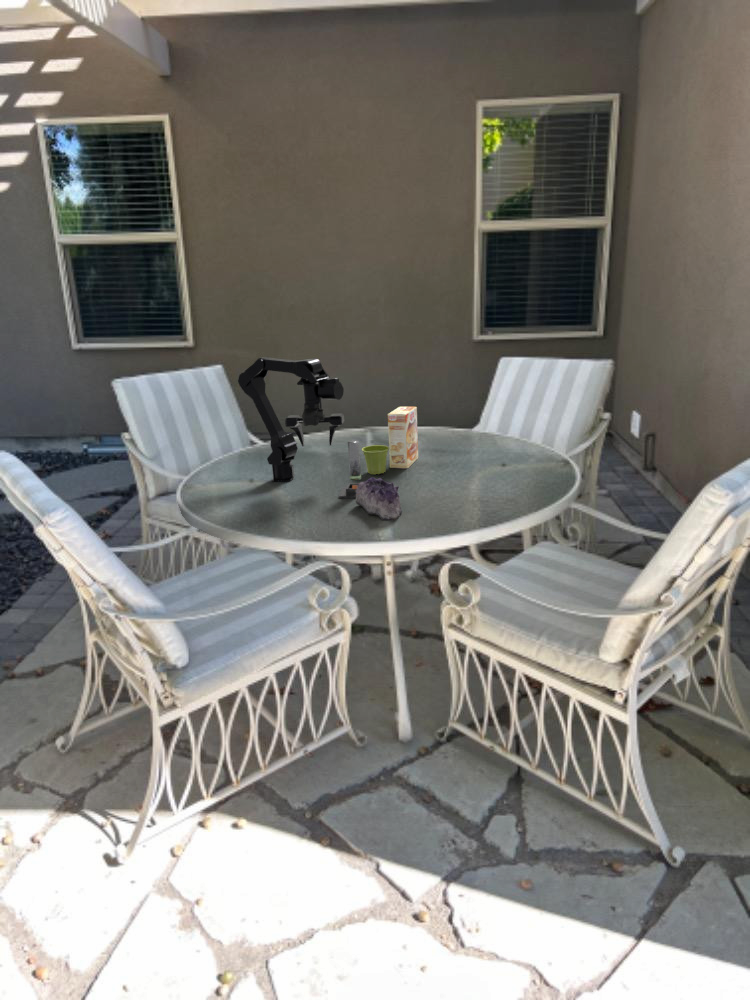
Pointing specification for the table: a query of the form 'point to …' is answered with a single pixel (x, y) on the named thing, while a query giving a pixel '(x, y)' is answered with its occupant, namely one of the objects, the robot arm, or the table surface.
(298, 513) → the table surface
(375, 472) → the plant pot
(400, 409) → the coffeecake box
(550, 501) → the table surface
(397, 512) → the geode
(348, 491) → the stand base
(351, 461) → the column
